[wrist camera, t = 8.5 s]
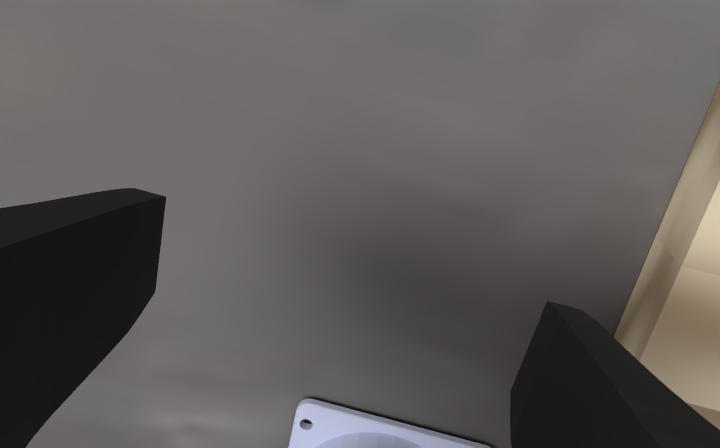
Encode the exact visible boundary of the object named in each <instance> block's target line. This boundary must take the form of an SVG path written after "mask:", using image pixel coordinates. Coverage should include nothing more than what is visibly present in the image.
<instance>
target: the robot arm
mask: <svg viewBox="0 0 720 448" xmlns="http://www.w3.org/2000/svg"><path fill="white" fill-rule="evenodd" d="M165 202H166V197H165V196H161V195H157V194H154V193H150V192H146V191H143V190H139V189H135V188H125V189H115V190H108V191H101V192H95V193H89V194H84V195H78V196H72V197H67V198H61V199H56V200H50V201H45V202H39V203H33V204H26V205H19V206H12V207H6V208H0V448H25V447H26V446H27V444H28V443H29V442H30V440H31V439H32V438H33V436H34V435H35V434H36V433H37V432H38V431H39V429H40V428H41V427H42V426H43V425H44V423H45V422H46V421H47V420H48V419H49V418H50V416H51V415H52V414H53V413H54V412H55V411H56V410H57V409H58V408H59V407H60V405H61V404H62V403H63V402H64V401H65V400H66V399H67V398H68V397H69V396H70V395H71V394H72V393H73V391H74V390H75V389H76V388H77V387H78V386H79V385H80V384H81V383H82V382H83V381H84V380H85V379H86V377H87V376H88V375H89V374H90V373H91V372H92V371H93V370H94V369H95V368H96V367H97V366H98V365H99V363H100V362H101V361H102V360H103V359H104V358H105V357H106V356H107V355H108V354H109V353H110V351H111V350H112V349H113V348H114V347H115V346H116V345H117V344H118V343H119V342H120V340H121V339H122V338H123V337H124V336H125V335H126V334H127V333H128V331H129V330H130V329H131V327H132V326H133V324H134V323H135V322H136V320H137V319H138V317H139V316H140V314H141V313H142V311H143V310H144V308H145V307H146V305H147V304H148V302H149V301H150V299H151V297H152V296H153V294H154V293H155V289H156V280H157V271H158V263H159V254H160V245H161V237H162V228H163V219H164V211H165ZM303 419H308V420H310V421H311V422H312V423H311V424H307V423H305V422H304V421H303ZM510 429H511V445H512V448H720V430H719V429H718V428H717V427H715V426H714V425H713V424H711V423H710V422H709V421H708V420H706V419H705V418H704V417H703V416H701V415H700V414H699V413H698V412H696V411H695V410H694V409H693V408H692V407H691V406H689V405H688V404H687V403H686V402H685V401H683V400H682V399H681V398H680V397H679V396H677V395H676V394H675V393H674V392H673V391H671V390H670V389H669V388H668V387H667V386H666V385H665V384H664V383H662V382H661V381H660V380H659V379H658V378H657V377H656V376H655V375H653V374H652V373H651V372H650V371H649V370H648V369H647V368H646V367H645V366H644V365H643V364H641V363H640V362H639V361H638V360H637V359H636V358H635V357H634V356H633V355H632V354H631V353H630V352H629V351H628V350H626V349H625V348H624V347H623V346H622V345H621V344H620V343H619V342H618V341H617V340H616V339H615V338H614V337H613V336H612V335H610V334H609V333H608V332H607V331H606V330H605V329H604V328H603V327H602V326H601V325H599V324H598V323H597V322H596V321H595V320H594V319H592V318H591V317H590V316H589V315H587V314H586V313H584V312H583V311H581V310H579V309H575V308H571V307H568V306H564V305H560V304H557V303H553V302H549V301H547V303H546V306H545V308H544V310H543V313H542V315H541V318H540V320H539V323H538V325H537V328H536V330H535V333H534V335H533V338H532V340H531V342H530V345H529V347H528V350H527V352H526V355H525V357H524V360H523V362H522V365H521V367H520V370H519V372H518V374H517V377H516V379H515V382H514V384H513V387H512V389H511V405H510ZM289 448H491V447H489V446H487V445H483V444H480V443H476V442H472V441H468V440H465V439H461V438H457V437H453V436H450V435H446V434H442V433H438V432H435V431H431V430H427V429H423V428H420V427H416V426H412V425H408V424H405V423H401V422H397V421H393V420H390V419H386V418H382V417H378V416H375V415H371V414H367V413H363V412H360V411H356V410H352V409H348V408H345V407H341V406H337V405H333V404H330V403H326V402H322V401H318V400H315V399H304V400H302V401H301V402H300V403H299V405H298V408H297V410H296V415H295V420H294V424H293V429H292V434H291V438H290V443H289Z"/></svg>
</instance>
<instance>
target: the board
mask: <svg viewBox="0 0 720 448" xmlns="http://www.w3.org/2000/svg"><path fill="white" fill-rule="evenodd" d="M614 338H615V339H616V340H617V341H618V342H619V343H620V344H621V345H622V346H623V347H624V348H625V349H626V350H628V351H629V352H630V353H631V354H632V355H633V356H634V357H635V358H636V359H637V360H638V361H639V362H640V363H641V364H643V365H644V366H645V367H646V368H647V369H648V370H649V371H650V372H651V373H652V374H653V375H655V376H656V377H657V378H658V379H659V380H660V381H661V382H662V383H664V384H665V385H666V386H667V387H668V388H669V389H670V390H671V391H673V392H674V393H675V394H676V395H677V396H679V397H680V398H681V399H682V400H683V401H685V402H686V403H687V404H688V405H689V406H691V407H692V408H693V409H694V410H695V411H696V412H698V413H699V414H700V415H701V416H703V417H704V418H705V419H706V420H708V421H709V422H710V423H711V424H713V425H714V426H715V427H717V428H718V429H719V430H720V84H719V86H718V88H717V91H716V93H715V96H714V98H713V100H712V103H711V105H710V107H709V110H708V112H707V115H706V117H705V119H704V122H703V124H702V127H701V129H700V131H699V134H698V136H697V139H696V141H695V143H694V146H693V148H692V150H691V153H690V155H689V158H688V160H687V162H686V165H685V167H684V170H683V172H682V174H681V177H680V179H679V182H678V184H677V186H676V189H675V191H674V194H673V196H672V198H671V201H670V203H669V205H668V208H667V210H666V213H665V215H664V217H663V220H662V222H661V225H660V227H659V229H658V232H657V234H656V237H655V239H654V241H653V244H652V246H651V248H650V251H649V253H648V256H647V258H646V260H645V263H644V265H643V268H642V270H641V272H640V275H639V277H638V280H637V282H636V284H635V287H634V289H633V292H632V294H631V296H630V299H629V301H628V303H627V306H626V308H625V311H624V313H623V315H622V318H621V320H620V323H619V325H618V327H617V330H616V332H615V335H614Z"/></svg>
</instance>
